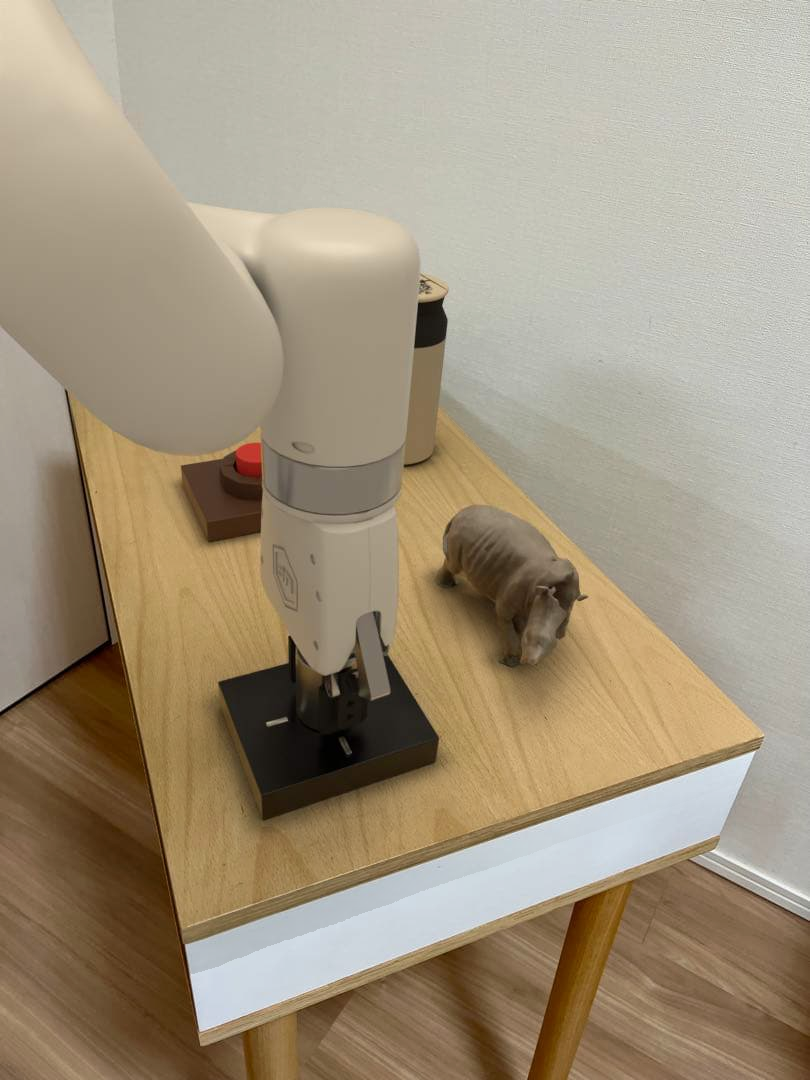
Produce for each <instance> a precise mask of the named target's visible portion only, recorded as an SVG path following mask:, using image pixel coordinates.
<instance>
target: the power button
mask: <svg viewBox="0 0 810 1080" xmlns="http://www.w3.org/2000/svg"><path fill="white" fill-rule="evenodd" d="M235 451H236V467H237V471H238V473H239V474H242V475H244V476H250V477H261V476H262V464H261V442H249V443H244V444H242V445H240V446H239V447H238V448H237V449H236V450H235Z"/></svg>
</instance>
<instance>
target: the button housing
mask: <svg viewBox="0 0 810 1080" xmlns="http://www.w3.org/2000/svg"><path fill="white" fill-rule="evenodd" d="M180 472H181V483H182V486H183V489H184V491H185V493H186V495H187V497H188V500H189V502H190V504H191V507H192V509H193V511H194V513H195V515H196V518H197V520H198V522H199V524H200V527H201V529H202V531H203V534H204V536H205V538H206V540H207V542H208V543H211V542H216V541H221V540H226V539H231V538H235V537H236V538H237V537H241V536H247V535H250V534H251V535H252V534H256V533H257V534H258V533H261V512H262V496H263V488H262V476H261V477H250V476H244V475H242V474H239V473H238V471H237V467H236V450H233V451H232V452H230V453H228V454H227V455H225V456H223V458H219V459H212V460H206V461H200V462H194V463H186V464H182V465H180Z"/></svg>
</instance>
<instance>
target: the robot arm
mask: <svg viewBox="0 0 810 1080" xmlns="http://www.w3.org/2000/svg"><path fill="white" fill-rule="evenodd" d="M421 265H422V264H421V253H420V249H419V246H418V244H417V241H416V239H415V238H414V236H413V234H412V232H411V231H409V230H408V229H407V228H406V227H405V226H404V225H403V224H401V223H400V222H398V221H396V220H394V219H392V218H389V217H386V216H384V215H381V214H378V213H375V212H370V211H366V210H361V209H354V208H347V207H345V208H344V207H310V208H309V207H308V208H303V209H297V210H292V211H288V212H285V213H281V214H280V213H270V212H259V211H253V210H252V211H251V210H244V209H235V208H228V207H221V206H215V205H211V204H210V205H209V204H203V203H202V204H201V203H197V202H190V201H186V200H185V198H184V197H183V195H182V194H181V193H180V191H179V190H178V189H177V187H176V185H175V184H174V183H173V181H171V179H170V178H169V177H168V175H167V173H166V172H165V170H164V169H163V168H162V167H161V165H160V164H159V162H158V161H157V159H156V158H155V157H154V155H153V153H152V152H151V151H150V149H149V148H148V147H147V145H146V144H145V142H144V141H143V140H142V138H141V137H140V135H139V134H138V132H137V131H136V129H135V128H134V126H133V125H132V124H131V122H130V121H129V119H128V118H127V117H126V115H125V113H124V112H123V111H122V109H121V108H120V106H119V105H118V102H116V100H115V99H114V97H113V95H112V94H111V93H110V91H109V90H108V88H107V87H106V85H105V84H104V82H103V81H102V80H101V78H100V76H99V75H98V73H97V72H96V70H95V69H94V67H93V65H92V64H91V62H90V60H89V59H88V57H87V55H86V54H85V53H84V51H83V50H82V48H81V46H80V44H79V42H78V41H77V39H76V37H75V36H74V34H73V33H72V31H71V28H69V26H68V24H67V22H66V21H65V19H64V17H63V15H62V14H61V11H60V10H59V8H58V6H57V4H56V2H55V1H54V0H0V328H1V329H2V330H3V331H4V332H6V334H7V335H9V336H10V337H11V339H12V340H13V341H15V342H16V343H17V344H18V345H19V346H20V347H21V348H22V349H23V350H24V351H25V352H26V353H27V354H28V355H29V356H30V357H31V358H33V360H34V361H35V362H37V364H39V366H40V367H42V368H43V369H44V370H45V371H46V372H47V373H48V374H49V375H50V376H51V377H52V378H53V379H54V380H55V381H56V382H57V383H58V384H60V386H61V387H62V388H63V389H65V390H66V392H68V393H69V394H70V396H72V397H73V398H74V399H75V400H76V401H77V402H78V403H79V404H80V405H81V406H83V408H85V409H86V410H87V411H88V412H89V413H90V414H91V415H92V416H94V417H95V418H96V419H97V420H98V421H100V422H101V423H102V424H104V425H105V426H106V427H107V428H109V429H111V430H112V431H113V432H115V433H116V434H118V435H120V436H122V437H123V438H125V439H127V440H128V441H130V442H132V443H134V444H136V445H138V446H141V447H143V448H146V449H149V450H150V451H153V452H156V453H157V452H158V453H162V454H167V455H170V456H175V457H178V456H180V457H197V456H199V457H200V456H206V455H207V456H208V455H213V454H216V453H218V452H221V451H225V450H228V449H230V448H232V447H234V446H236V445H237V444H239V443H241V442H243V441H244V440H246V439H247V438H248V437H249V436H251V435H252V434H253V433H254V432H256V430H258V429H259V431H260V443H261V464H262V488H263V496H262V512H261V532H260V556H259V557H260V561H259V562H260V563H259V568H260V581H261V584H262V587H263V590H264V592H265V595H266V597H267V598H268V600H269V602H270V604H271V606H272V607H273V609H274V611H275V613H276V614H277V616H278V618H279V619H280V621H281V623H282V624H283V626H284V628H285V629H286V632H287V633H288V635H287V641H288V642H287V651H288V652H287V653H288V659H287V660H288V663H289V677H290V679H291V681H292V682H293V683H296V646H297V647H298V649H299V651H300V652H301V654H302V655H303V657H304V658H305V660H306V661H307V663H308V664H309V665H310V667H311V668H312V669H314V670H315V671H316V672H318V673H319V674H321V675H324V683H325V684H323V685H321V686H320V687H319V689H318V729H319V730H320V732H321V734H322V735H327V734H329V733H332V732H335V731H338V730H341V729H347V728H350V727H352V726H354V725H356V724H357V723H360V722H362V721H364V720H365V719H366V717H367V705H368V701H372V700H375V699H378V698H381V697H384V696H387V695H389V694H390V685H389V680H388V676H387V671H386V666H385V662H384V657H383V656H387V655H388V656H389V654H390V652H391V650H392V648H393V645H394V643H395V637H396V631H397V623H398V612H399V611H398V609H399V583H400V559H399V556H400V555H399V554H400V551H399V549H400V548H399V531H398V529H399V527H398V516H397V509H396V506H395V505H396V504H397V502H398V501H399V499H400V497H401V496H402V490H403V480H404V479H403V476H404V467H405V466H404V465H405V464H404V456H405V444H406V432H407V421H408V409H409V398H410V387H411V376H412V364H413V353H414V342H415V330H416V319H417V307H418V296H419V284H420V273H421ZM352 658H355V659H356V663H357V669H353V670H350V671H347V672H344V673H340V674H339V671H341V669H342V668H343V667H344V665H345V663H346V662H347V660H349V659H352Z"/></svg>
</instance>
